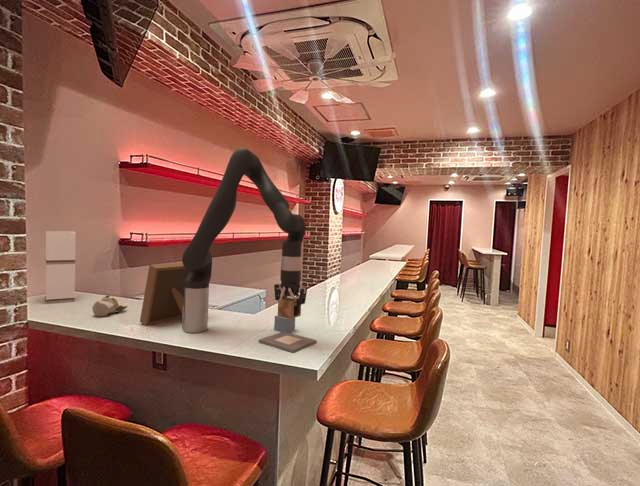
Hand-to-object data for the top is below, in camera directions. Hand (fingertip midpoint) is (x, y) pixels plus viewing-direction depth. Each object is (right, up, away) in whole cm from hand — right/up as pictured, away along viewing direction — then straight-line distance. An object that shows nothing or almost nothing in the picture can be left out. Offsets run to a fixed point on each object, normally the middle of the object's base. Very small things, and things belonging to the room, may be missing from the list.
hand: (289, 313), depth 127 cm
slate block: (-3, -10, +16) cm, 19 cm away
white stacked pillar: (-121, -3, +48) cm, 130 cm away
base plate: (-1, -11, 0) cm, 11 cm away
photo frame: (-51, -8, +20) cm, 55 cm away
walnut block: (0, -1, 0) cm, 1 cm away
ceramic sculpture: (-84, -6, +28) cm, 89 cm away
